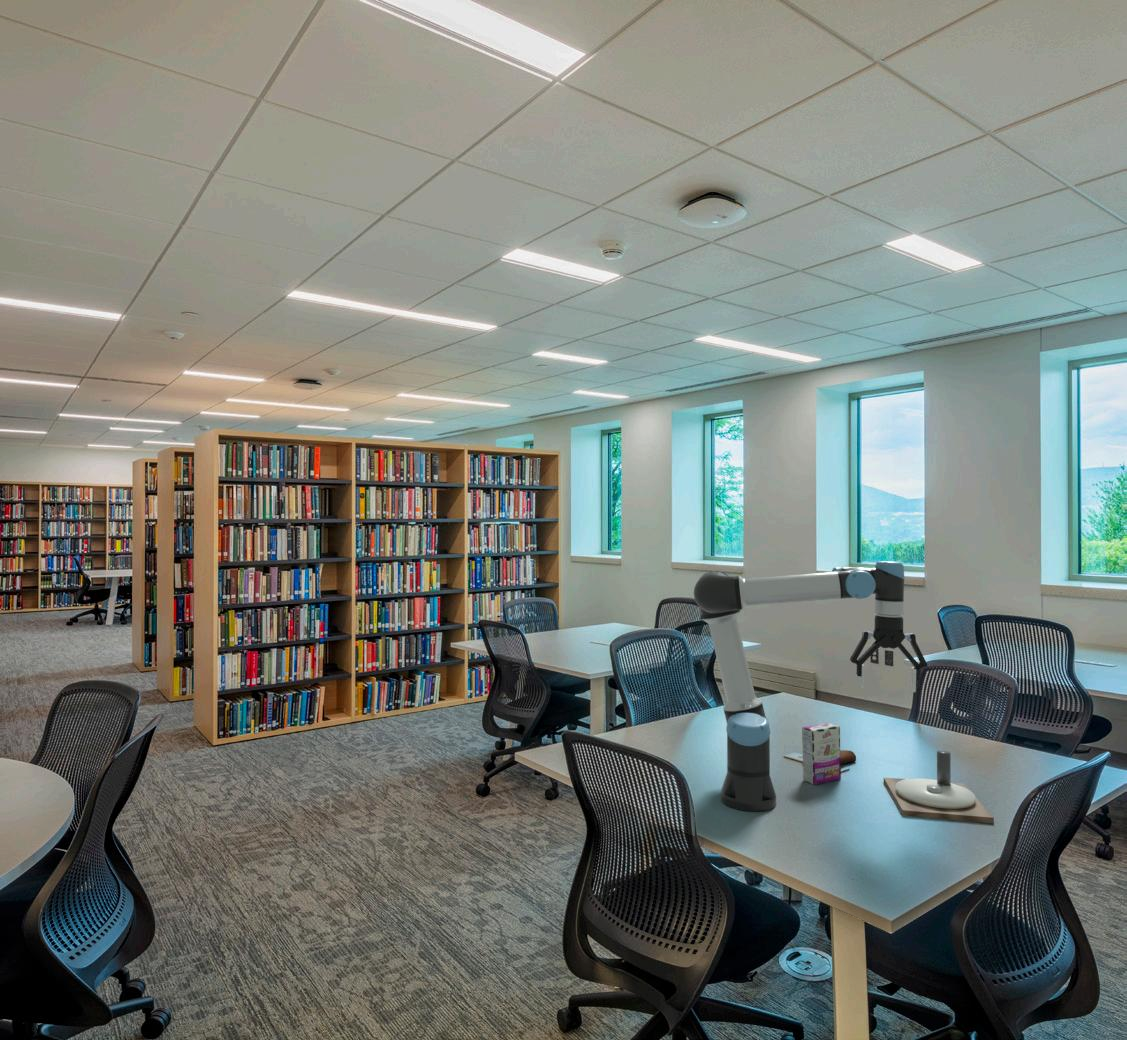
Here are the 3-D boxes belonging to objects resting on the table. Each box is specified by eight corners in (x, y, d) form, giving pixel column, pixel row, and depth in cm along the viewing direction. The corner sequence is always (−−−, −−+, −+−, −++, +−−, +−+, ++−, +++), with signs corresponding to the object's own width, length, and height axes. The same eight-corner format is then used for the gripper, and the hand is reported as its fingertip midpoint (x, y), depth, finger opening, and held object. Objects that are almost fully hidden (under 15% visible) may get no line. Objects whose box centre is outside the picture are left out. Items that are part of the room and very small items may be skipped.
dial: (962, 814, 192) (962, 775, 192) (884, 795, 206) (884, 758, 206) (984, 794, 206) (984, 758, 206) (910, 777, 220) (910, 743, 220)
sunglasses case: (833, 755, 247) (842, 740, 244) (850, 770, 242) (859, 756, 239) (800, 765, 237) (809, 750, 234) (816, 781, 232) (825, 766, 229)
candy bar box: (829, 774, 228) (828, 722, 228) (841, 779, 223) (841, 726, 223) (801, 780, 223) (801, 726, 223) (813, 785, 219) (813, 730, 219)
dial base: (902, 815, 196) (902, 809, 196) (883, 782, 221) (883, 776, 221) (993, 823, 191) (993, 817, 191) (963, 788, 216) (963, 782, 216)
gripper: (932, 615, 210) (931, 689, 210) (840, 611, 216) (839, 683, 216) (940, 619, 203) (938, 695, 203) (844, 614, 209) (843, 689, 208)
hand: (887, 689), depth 209 cm, fingers open, 13 cm apart
